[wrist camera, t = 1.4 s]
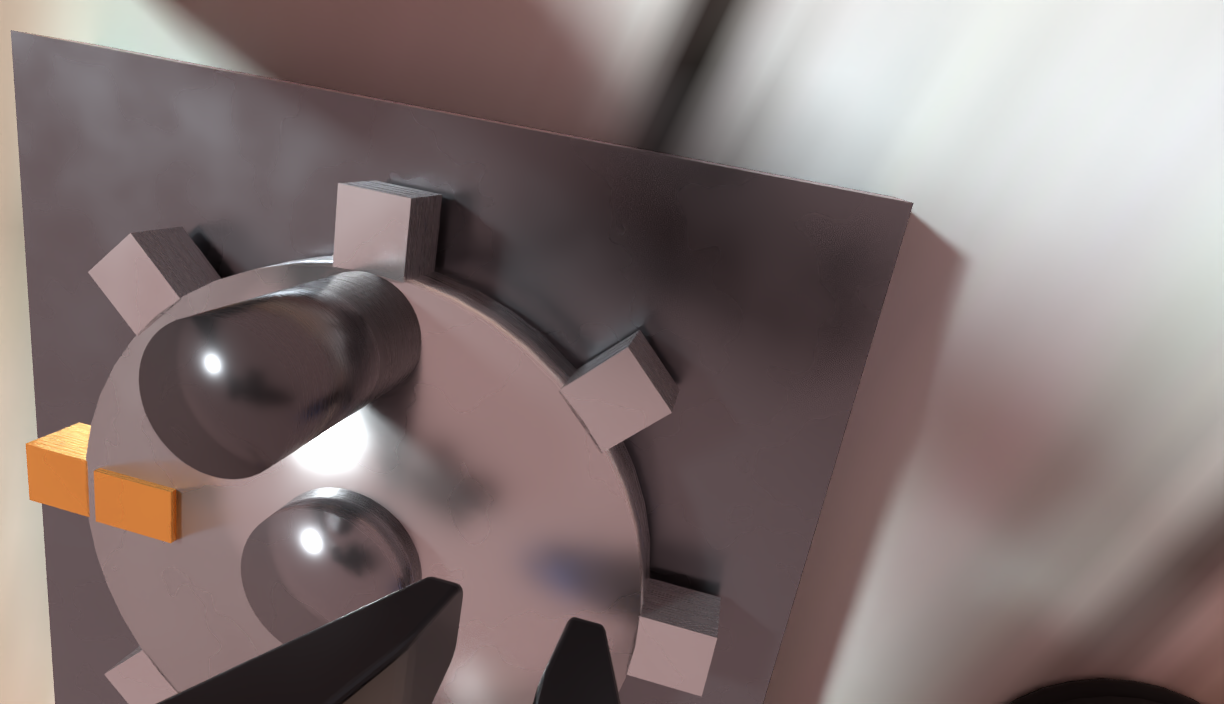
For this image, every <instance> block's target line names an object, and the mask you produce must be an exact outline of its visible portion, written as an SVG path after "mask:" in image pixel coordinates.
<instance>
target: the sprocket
mask: <svg viewBox="0 0 1224 704" xmlns="http://www.w3.org/2000/svg"><path fill="white" fill-rule="evenodd" d="M441 204H442V194H438V193H433V192H428V191H423V190H418V189H414V188H409V187H404V186H399V185H394V184H390V183H385V182H380V181H362V182H347V183H338V191H337V206H336V222H335V238H334V254H333V256H323V257H315V258H308V259H300V260H293V261H289V262H284V263H280V264H275V265H271V266H267V267H262V268H258V269H253V270H249V271H246V272H243V273H239V274H236V275H232V276H229V277H226V278H222V279H221V278H220V276H219V275H218V273H217V272H216V271H215V269H214V268H213V267H212V265H211V264H210V263H209V261H208V260H207V259H206V257H205V256H204V255H203V253H202V252H201V251H200V249H199V248H198V247H197V245H196V244H195V243H194V241H193V240H192V239H191V237H190V236H189V234H188V233H187V232H186V230H185V229H184V228H183V226H182V227H174V228H166V229H158V230H150V231H142V232H134V233H130V234H129V235H128V236H127V237H125V238H124V239H123V240H122V241H121V242H120V243H119V244H118V245H117V246H116V247H115V248H114V249H112V250H111V251H110V252H109V253H108V254H107V255H106V256H105V257H104V258H103V259H102V260H101V261H99V262H98V263H97V264H96V265H95V266H94V267H93V268H92V269H91V270H90V271H89V272H88V273H89V274H90V276H91V277H92V278H93V279H94V281H95V282H96V283H97V285H98V286H99V287H100V289H101V290H102V291H103V293H104V294H105V295H106V296H107V298H108V299H109V300H110V302H111V303H112V304H113V306H114V307H115V308H116V309H117V311H118V312H119V313H120V315H121V316H122V317H123V319H124V320H125V321H126V322H127V324H128V325H129V326H130V328H131V329H132V330H133V332H134V333H135V334H136V336H135V337H134V338H133V340H132V341H131V343H130V344H129V345H128V347H127V348H126V350H125V351H124V352H123V354H122V355H121V357H120V358H119V359H118V361H117V362H116V364H115V365H114V367H113V369H112V371H111V373H110V375H109V377H108V379H107V382H106V384H105V386H104V388H103V390H102V392H101V394H100V397H99V400H98V404H97V407H96V410H95V413H94V416H93V420H92V423H91V425H87V424H84V423H80V422H79V423H77V424H74V425H72V426H69V427H67V428H64V429H62V430H59V431H57V432H54V433H52V434H49V435H47V436H44V437H42V438H39V439H36V440H34V441H31V442H29V443H26V454H27V468H28V482H29V496H30V500H32V501H36V502H39V503H42V504H46V505H49V506H53V507H56V508H60V509H63V510H66V511H70V512H73V513H77V514H80V515H83V516H87V517H89V524H90V528H91V532H92V537H93V541H94V546H95V550H96V554H97V557H98V560H99V563H100V566H101V568H102V571H103V574H104V577H105V580H106V583H107V586H108V588H109V590H110V592H111V594H112V596H113V598H114V600H115V603H116V605H117V607H118V609H119V611H120V613H121V615H122V617H123V619H124V621H125V622H126V624H127V626H128V627H129V629H130V631H131V632H132V634H133V636H134V637H135V639H136V641H137V642H138V644H139V647H138V648H136V649H135V650H134V651H133V652H131V653H130V654H129V655H127V656H126V657H125V658H124V659H122V660H121V661H120V662H119V663H117V664H116V665H115V666H114V667H112V668H111V669H110V670H109V671H107V672H106V673H105V674H104V675H105V676H106V677H107V679H108V680H109V681H110V682H111V683H112V685H113V686H114V687H115V688H116V689H117V691H118V692H119V693H120V694H121V695H122V697H123V698H124V699H125V700H126V701H127V703H128V704H156V703H158V702H160V701H162V700H165V699H167V698H169V697H171V696H173V695H175V694H177V693H180V692H182V691H184V690H186V689H188V688H190V687H192V686H195V685H197V684H199V683H201V682H203V681H205V680H207V679H210V678H212V677H214V676H216V675H218V674H220V673H222V672H225V671H227V670H229V669H231V668H233V667H235V666H237V665H239V664H242V663H244V662H246V661H248V660H250V659H252V658H254V657H257V656H259V655H261V654H263V653H265V652H267V651H269V650H272V649H274V648H276V647H278V646H280V645H282V644H284V643H287V642H289V641H291V640H293V639H295V638H297V637H299V636H302V635H304V634H306V633H308V632H310V631H312V630H314V629H317V628H319V627H321V626H323V625H325V624H327V623H329V622H332V621H334V620H336V619H338V618H340V617H342V616H344V615H347V614H349V613H351V612H353V611H355V610H357V609H359V608H362V607H364V606H366V605H368V604H370V603H372V602H374V601H377V600H379V599H381V598H383V597H385V596H387V595H389V594H392V593H394V592H396V591H398V590H400V589H402V588H404V587H407V586H409V585H411V584H413V583H415V582H417V581H419V580H422V579H424V578H426V577H431V576H432V577H437V578H441V579H444V580H448V581H451V582H455V583H458V584H460V586H461V587H462V589H463V601H462V608H461V615H460V623H459V630H458V637H457V644H456V648H455V652H454V655H453V658H452V661H451V663H450V666H449V668H448V670H447V672H446V674H445V677H444V679H443V681H442V683H441V685H440V687H439V690H438V692H437V694H436V696H435V698H434V700H433V703H432V704H533V700H534V697H535V693H536V690H537V687H538V684H539V682H540V679H541V677H542V674H543V672H544V670H545V668H546V666H547V664H548V662H549V660H550V657H551V655H552V653H553V651H554V649H555V647H556V645H557V643H558V640H559V638H560V636H561V634H562V632H563V630H564V628H565V626H566V623H567V621H568V620H569V619H570V618H572V617H578V618H581V619H585V620H588V621H592V622H595V623H599V624H601V625H603V626H604V628H605V631H606V635H607V640H608V644H609V649H610V654H611V658H612V663H613V668H614V672H615V677H616V682H617V686H618V691H619V690H620V688H621V686H622V684H623V682H624V680H625V678H626V675H630V676H633V677H637V678H640V679H643V680H647V681H650V682H654V683H657V684H661V685H664V686H667V687H671V688H674V689H678V690H681V691H684V692H688V693H691V694H695V695H698V696H701V697H702V694H703V690H704V686H705V682H706V679H707V675H708V671H709V667H710V664H711V660H712V656H713V652H714V649H715V645H716V641H717V636H718V624H719V612H720V599H721V597H717V596H714V595H710V594H706V593H703V592H699V591H695V590H692V589H688V588H684V587H681V586H677V585H673V584H670V583H666V582H662V581H659V580H655V579H651V578H650V535H649V528H648V521H647V514H646V507H645V502H644V498H643V495H642V491H641V488H640V484H639V481H638V477H637V474H636V470H635V467H634V465H633V462H632V460H631V458H630V455H629V453H628V451H627V449H626V446H625V444H624V442H623V441H624V440H625V439H627V438H629V437H631V436H632V435H634V434H636V433H637V432H639V431H641V430H643V429H644V428H646V427H648V426H650V425H651V424H653V423H655V422H657V421H658V420H660V419H662V418H663V417H665V416H667V415H669V414H670V413H672V411H673V408H674V405H675V402H676V399H677V396H678V393H679V390H680V389H679V388H678V386H677V385H676V383H675V382H674V380H673V379H672V377H671V376H670V374H669V373H668V371H667V370H666V368H665V367H664V365H663V364H662V362H661V361H660V359H659V358H658V356H657V355H656V353H655V352H654V350H653V349H652V347H651V346H650V344H649V343H648V341H647V340H646V338H645V337H644V335H643V334H642V332H641V331H640V330H638V331H637V332H635V333H634V334H632V335H631V336H629V337H627V338H626V339H624V340H623V341H621V342H619V343H618V344H616V345H615V346H613V347H611V348H610V349H608V350H607V351H605V352H604V353H602V354H600V355H599V356H597V357H596V358H594V359H592V360H591V361H589V362H588V363H586V364H584V365H583V366H581V367H580V368H578V369H576V368H575V366H574V365H573V364H572V363H571V362H570V361H569V360H568V359H567V358H566V357H565V356H564V355H563V354H562V353H561V352H560V351H559V350H558V349H557V348H556V347H555V346H554V345H553V344H552V343H551V342H550V341H549V340H548V339H547V338H546V337H545V336H544V335H542V334H541V333H540V332H539V331H537V330H536V329H535V328H533V327H532V326H531V325H530V324H528V323H527V322H526V321H525V320H523V319H522V318H521V317H519V316H518V315H517V314H516V313H514V312H513V311H512V310H510V309H508V308H507V307H505V306H503V305H502V304H500V303H498V302H497V301H495V300H493V299H492V298H490V297H488V296H487V295H485V294H483V293H482V292H480V291H478V290H477V289H475V288H472V287H470V286H468V285H466V284H463V283H461V282H459V281H456V280H454V279H452V278H450V277H447V276H445V275H443V274H441V273H438V272H434V270H435V261H436V251H437V242H438V232H439V223H440V214H441Z"/></svg>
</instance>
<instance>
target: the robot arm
mask: <svg viewBox="0 0 1224 704" xmlns="http://www.w3.org/2000/svg"><path fill="white" fill-rule="evenodd" d="M462 601H463V589H462V587H461V586H460V584H458V583H455V582H451V581H448V580H444V579H441V578H437V577H432V576H431V577H426V578H424V579H422V580H419V581H417V582H415V583H413V584H411V585H409V586H407V587H404V588H402V589H400V590H398V591H396V592H394V593H392V594H389V595H387V596H385V597H383V598H381V599H379V600H377V601H374V602H372V603H370V604H368V605H366V606H364V607H362V608H359V609H357V610H355V611H353V612H351V613H349V614H347V615H344V616H342V617H340V618H338V619H336V620H334V621H332V622H329V623H327V624H325V625H323V626H321V627H319V628H317V629H314V630H312V631H310V632H308V633H306V634H304V635H302V636H299V637H297V638H295V639H293V640H291V641H289V642H287V643H284V644H282V645H280V646H278V647H276V648H274V649H272V650H269V651H267V652H265V653H263V654H261V655H259V656H257V657H254V658H252V659H250V660H248V661H246V662H244V663H242V664H239V665H237V666H235V667H233V668H231V669H229V670H227V671H225V672H222V673H220V674H218V675H216V676H214V677H212V678H210V679H207V680H205V681H203V682H201V683H199V684H197V685H195V686H192V687H190V688H188V689H186V690H184V691H182V692H180V693H177V694H175V695H173V696H171V697H169V698H167V699H165V700H162V701H160V702H158V703H156V704H432V703H433V700H434V698H435V696H436V694H437V692H438V690H439V687H440V685H441V683H442V681H443V679H444V677H445V674H446V672H447V670H448V668H449V666H450V663H451V661H452V658H453V655H454V652H455V648H456V644H457V637H458V630H459V623H460V615H461V608H462ZM533 704H621V700H620V696H619V691H618V686H617V682H616V677H615V672H614V668H613V663H612V658H611V654H610V649H609V644H608V640H607V635H606V631H605V628H604V626H603V625H601V624H599V623H595V622H592V621H588V620H585V619H581V618H578V617H572V618H570V619H569V620H568V621H567V623H566V626H565V628H564V630H563V632H562V634H561V636H560V638H559V640H558V643H557V645H556V647H555V649H554V651H553V653H552V655H551V657H550V660H549V662H548V664H547V666H546V668H545V670H544V672H543V674H542V677H541V679H540V682H539V684H538V687H537V690H536V693H535V697H534V700H533Z"/></svg>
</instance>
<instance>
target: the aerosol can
mask: <svg viewBox="0 0 1224 704" xmlns="http://www.w3.org/2000/svg"><path fill="white" fill-rule="evenodd" d="M1010 704H1200V703H1198V702H1197V701H1195V700H1193V699H1191V698H1188V697H1186V696H1183V695H1181V694H1178V693H1176V692H1173V691H1171V690H1168V689H1166V688H1162V687H1158V686H1153V685H1149V684H1145V683H1140V682H1136V681H1125V680H1110V679H1096V680H1083V681H1071V682H1067V683H1063V684H1059V685H1055V686H1050V687H1046V688H1042V689H1040V690H1038V691H1035V692H1033V693H1030V694H1028V695H1026V696H1023V697H1021V698H1018V699H1016V700H1015V701H1013V702H1012V703H1010Z"/></svg>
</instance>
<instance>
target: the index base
mask: <svg viewBox="0 0 1224 704" xmlns="http://www.w3.org/2000/svg"><path fill="white" fill-rule="evenodd" d="M11 39H12V55H13V70H14V85H15V100H16V115H17V131H18V146H19V161H20V176H21V191H22V207H23V222H24V237H25V252H26V267H27V282H28V298H29V313H30V328H31V343H32V358H33V374H34V389H35V404H36V419H37V434H38V439H39V438H42V437H44V436H47V435H49V434H52V433H54V432H57V431H59V430H62V429H64V428H67V427H69V426H72V425H74V424H77V423H79V422H80V423H84V424H87V425H91V423H92V420H93V416H94V413H95V410H96V407H97V404H98V400H99V397H100V394H101V392H102V390H103V388H104V386H105V384H106V382H107V379H108V377H109V375H110V373H111V371H112V369H113V367H114V365H115V364H116V362H117V361H118V359H119V358H120V357H121V355H122V354H123V352H124V351H125V350H126V348H127V347H128V345H129V344H130V343H131V341H132V340H133V338H134V337H135V336H136V334H135V333H134V332H133V330H132V329H131V328H130V326H129V325H128V324H127V322H126V321H125V320H124V319H123V317H122V316H121V315H120V313H119V312H118V311H117V309H116V308H115V307H114V306H113V304H112V303H111V302H110V300H109V299H108V298H107V296H106V295H105V294H104V293H103V291H102V290H101V289H100V287H99V286H98V285H97V283H96V282H95V281H94V279H93V278H92V277H91V276H90V274H89V273H88V272H89V271H90V270H91V269H92V268H93V267H94V266H95V265H96V264H97V263H98V262H99V261H101V260H102V259H103V258H104V257H105V256H106V255H107V254H108V253H109V252H110V251H111V250H112V249H114V248H115V247H116V246H117V245H118V244H119V243H120V242H121V241H122V240H123V239H124V238H125V237H127V236H128V235H129V234H130V233H134V232H142V231H150V230H158V229H166V228H174V227H182V226H183V228H184V229H185V230H186V232H187V233H188V234H189V236H190V237H191V239H192V240H193V241H194V243H195V244H196V245H197V247H198V248H199V249H200V251H201V252H202V253H203V255H204V256H205V257H206V259H207V260H208V261H209V263H210V264H211V265H212V267H213V268H214V269H215V271H216V272H217V273H218V275H219V276H220V278H221V279H222V278H226V277H229V276H232V275H236V274H239V273H243V272H246V271H249V270H253V269H258V268H262V267H267V266H271V265H275V264H280V263H284V262H289V261H293V260H300V259H308V258H315V257H323V256H333V254H334V238H335V222H336V206H337V191H338V183H347V182H362V181H380V182H385V183H390V184H394V185H399V186H404V187H409V188H414V189H418V190H423V191H428V192H433V193H438V194H442V204H441V214H440V223H439V232H438V242H437V251H436V261H435V270H434V272H438V273H441V274H443V275H445V276H447V277H450V278H452V279H454V280H456V281H459V282H461V283H463V284H466V285H468V286H470V287H472V288H475V289H477V290H478V291H480V292H482V293H483V294H485V295H487V296H488V297H490V298H492V299H493V300H495V301H497V302H498V303H500V304H502V305H503V306H505V307H507V308H508V309H510V310H512V311H513V312H514V313H516V314H517V315H518V316H519V317H521V318H522V319H523V320H525V321H526V322H527V323H528V324H530V325H531V326H532V327H533V328H535V329H536V330H537V331H539V332H540V333H541V334H542V335H544V336H545V337H546V338H547V339H548V340H549V341H550V342H551V343H552V344H553V345H554V346H555V347H556V348H557V349H558V350H559V351H560V352H561V353H562V354H563V355H564V356H565V357H566V358H567V359H568V360H569V361H570V362H571V363H572V364H573V365H574V366H575V368H576V369H578V368H580V367H581V366H583V365H584V364H586V363H588V362H589V361H591V360H592V359H594V358H596V357H597V356H599V355H600V354H602V353H604V352H605V351H607V350H608V349H610V348H611V347H613V346H615V345H616V344H618V343H619V342H621V341H623V340H624V339H626V338H627V337H629V336H631V335H632V334H634V333H635V332H637V331H638V330H640V331H641V332H642V334H643V335H644V337H645V338H646V340H647V341H648V343H649V344H650V346H651V347H652V349H653V350H654V352H655V353H656V355H657V356H658V358H659V359H660V361H661V362H662V364H663V365H664V367H665V368H666V370H667V371H668V373H669V374H670V376H671V377H672V379H673V380H674V382H675V383H676V385H677V386H678V388H679V389H680V390H679V393H678V396H677V399H676V402H675V405H674V408H673V411H672V413H670V414H669V415H667V416H665V417H663V418H662V419H660V420H658V421H657V422H655V423H653V424H651V425H650V426H648V427H646V428H644V429H643V430H641V431H639V432H637V433H636V434H634V435H632V436H631V437H629V438H627V439H625V440H624V441H623V442H624V444H625V446H626V449H627V451H628V453H629V455H630V458H631V460H632V462H633V465H634V467H635V470H636V474H637V477H638V481H639V484H640V488H641V491H642V495H643V498H644V502H645V507H646V514H647V521H648V528H649V535H650V578H651V579H655V580H659V581H662V582H666V583H670V584H673V585H677V586H681V587H684V588H688V589H692V590H695V591H699V592H703V593H706V594H710V595H714V596H717V597H721V599H720V612H719V624H718V636H717V641H716V645H715V649H714V652H713V656H712V660H711V664H710V667H709V671H708V675H707V679H706V682H705V686H704V690H703V694H702V697H701V696H698V695H695V694H691V693H688V692H684V691H681V690H678V689H674V688H671V687H667V686H664V685H661V684H657V683H654V682H650V681H647V680H643V679H640V678H637V677H633V676H630V675H626V678H625V680H624V682H623V684H622V686H621V688H620V690H619V696H620V700H621V704H763V702H764V698H765V695H766V692H767V688H768V685H769V682H770V678H771V675H772V672H773V668H774V665H775V662H776V658H777V655H778V652H779V648H780V645H781V642H782V638H783V635H784V632H785V628H786V625H787V622H788V618H789V615H790V612H791V608H792V605H793V602H794V599H795V595H796V592H797V589H798V585H799V582H800V579H801V575H802V572H803V569H804V565H805V562H806V559H807V555H808V552H809V549H810V545H811V542H812V539H813V535H814V532H815V529H816V525H817V522H818V519H819V515H820V512H821V509H822V505H823V502H824V499H825V495H826V492H827V489H828V485H829V482H830V479H831V475H832V472H833V469H834V465H835V462H836V459H837V455H838V452H839V449H840V445H841V442H842V439H843V435H844V432H845V429H846V425H847V422H848V419H849V415H850V412H851V409H852V405H853V402H854V399H855V395H856V392H857V389H858V385H859V382H860V379H861V375H862V372H863V369H864V366H865V362H866V359H867V356H868V352H869V349H870V346H871V342H872V339H873V336H874V332H875V329H876V326H877V322H878V319H879V316H880V312H881V309H882V306H883V302H884V299H885V296H886V292H887V289H888V286H889V282H890V279H891V276H892V272H893V269H894V266H895V262H896V259H897V256H898V252H899V249H900V246H901V242H902V239H903V236H904V232H905V229H906V226H907V222H908V219H909V216H910V212H911V209H912V206H913V203H911V202H908V201H905V200H902V199H898V198H895V197H891V196H886V195H881V194H875V193H870V192H865V191H860V190H854V189H849V188H844V187H839V186H833V185H828V184H823V183H818V182H813V181H807V180H802V179H797V178H792V177H786V176H781V175H776V174H771V173H765V172H760V171H755V170H750V169H745V168H739V167H734V166H729V165H724V164H718V163H713V162H708V161H703V160H697V159H692V158H687V157H682V156H676V155H671V154H666V153H661V152H656V151H650V150H645V149H640V148H635V147H629V146H624V145H619V144H614V143H608V142H603V141H598V140H593V139H588V138H582V137H577V136H572V135H567V134H561V133H556V132H551V131H546V130H540V129H535V128H530V127H525V126H519V125H514V124H509V123H504V122H499V121H493V120H488V119H483V118H478V117H472V116H467V115H462V114H457V113H451V112H446V111H441V110H436V109H431V108H425V107H420V106H415V105H410V104H404V103H399V102H394V101H389V100H383V99H378V98H373V97H368V96H362V95H357V94H352V93H347V92H342V91H336V90H331V89H326V88H321V87H315V86H310V85H305V84H300V83H294V82H289V81H284V80H279V79H274V78H268V77H263V76H258V75H253V74H247V73H242V72H237V71H232V70H226V69H221V68H216V67H211V66H205V65H200V64H195V63H190V62H185V61H179V60H174V59H169V58H164V57H158V56H153V55H148V54H143V53H137V52H132V51H127V50H122V49H117V48H111V47H106V46H101V45H96V44H90V43H84V42H78V41H72V40H66V39H60V38H54V37H48V36H42V35H36V34H30V33H24V32H18V31H12V30H11ZM42 510H43V526H44V541H45V556H46V571H47V586H48V602H49V617H50V632H51V647H52V662H53V677H54V693H55V704H128V703H127V701H126V700H125V699H124V698H123V697H122V695H121V694H120V693H119V692H118V691H117V689H116V688H115V687H114V686H113V685H112V683H111V682H110V681H109V680H108V679H107V677H106V676H105V675H104V674H105V673H106V672H107V671H109V670H110V669H111V668H112V667H114V666H115V665H116V664H117V663H119V662H120V661H121V660H122V659H124V658H125V657H126V656H127V655H129V654H130V653H131V652H133V651H134V650H135V649H136V648H138V647H139V644H138V642H137V641H136V639H135V637H134V636H133V634H132V632H131V631H130V629H129V627H128V626H127V624H126V622H125V621H124V619H123V617H122V615H121V613H120V611H119V609H118V607H117V605H116V603H115V600H114V598H113V596H112V594H111V592H110V590H109V588H108V586H107V583H106V580H105V577H104V574H103V571H102V568H101V566H100V563H99V560H98V557H97V554H96V550H95V546H94V541H93V537H92V532H91V528H90V524H89V517H87V516H83V515H80V514H77V513H73V512H70V511H66V510H63V509H60V508H56V507H53V506H49V505H46V504H42Z"/></svg>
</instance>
